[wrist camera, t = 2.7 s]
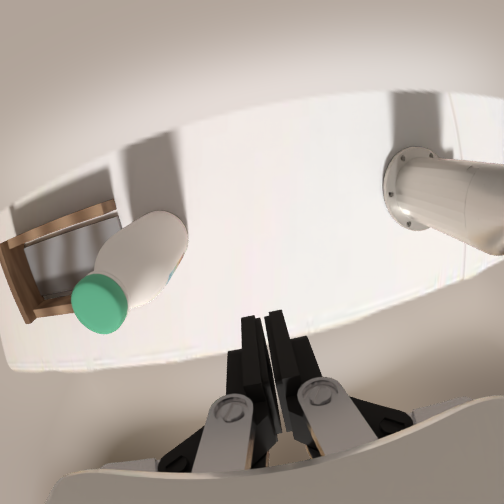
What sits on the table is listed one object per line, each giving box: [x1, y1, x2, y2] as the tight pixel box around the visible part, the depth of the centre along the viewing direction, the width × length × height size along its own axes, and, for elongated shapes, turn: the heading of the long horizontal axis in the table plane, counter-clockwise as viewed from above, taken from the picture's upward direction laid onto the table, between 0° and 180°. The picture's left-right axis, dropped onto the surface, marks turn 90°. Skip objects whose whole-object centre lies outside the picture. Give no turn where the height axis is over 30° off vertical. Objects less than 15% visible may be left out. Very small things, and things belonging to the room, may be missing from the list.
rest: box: [0, 199, 122, 324], centre depth 34 cm, size 22×14×6 cm, turn 101°
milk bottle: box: [71, 211, 188, 334], centre depth 27 cm, size 8×8×20 cm
